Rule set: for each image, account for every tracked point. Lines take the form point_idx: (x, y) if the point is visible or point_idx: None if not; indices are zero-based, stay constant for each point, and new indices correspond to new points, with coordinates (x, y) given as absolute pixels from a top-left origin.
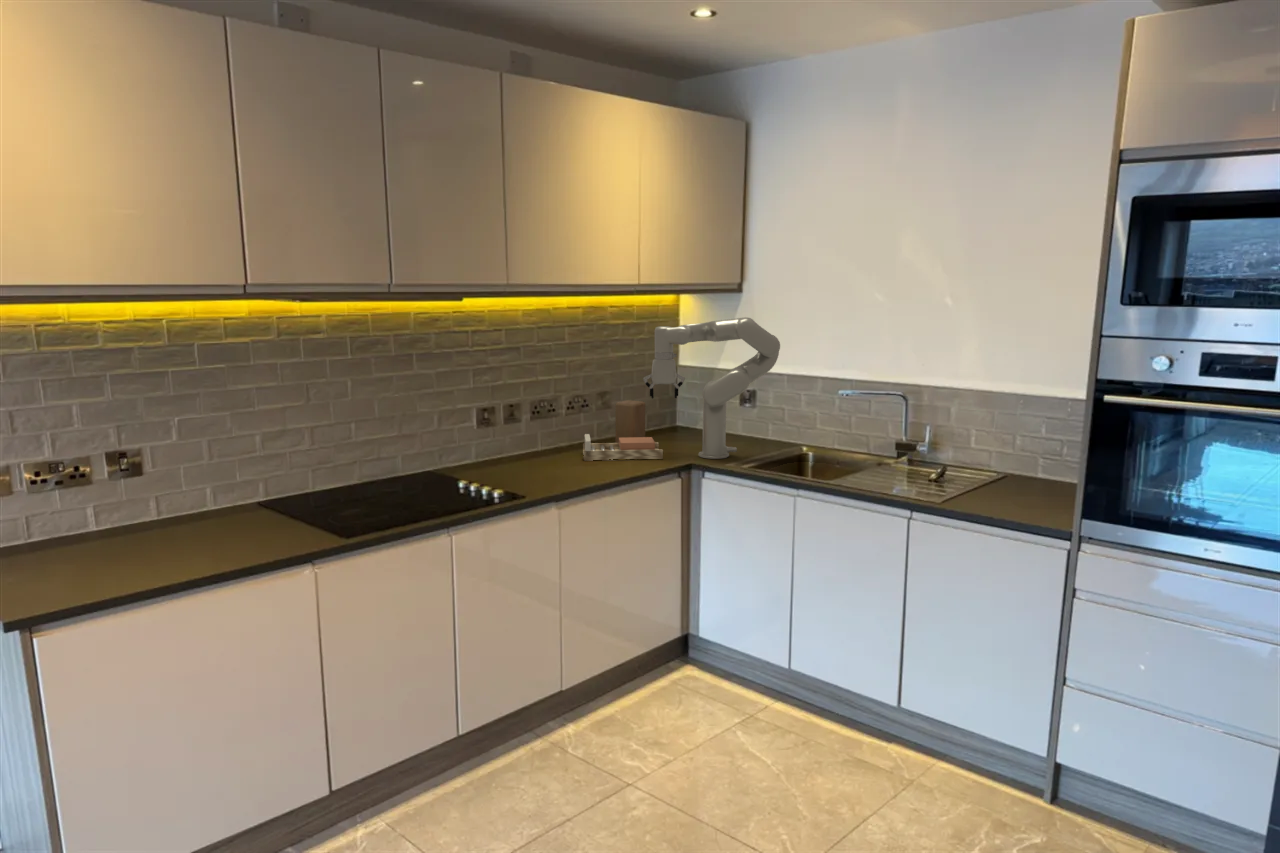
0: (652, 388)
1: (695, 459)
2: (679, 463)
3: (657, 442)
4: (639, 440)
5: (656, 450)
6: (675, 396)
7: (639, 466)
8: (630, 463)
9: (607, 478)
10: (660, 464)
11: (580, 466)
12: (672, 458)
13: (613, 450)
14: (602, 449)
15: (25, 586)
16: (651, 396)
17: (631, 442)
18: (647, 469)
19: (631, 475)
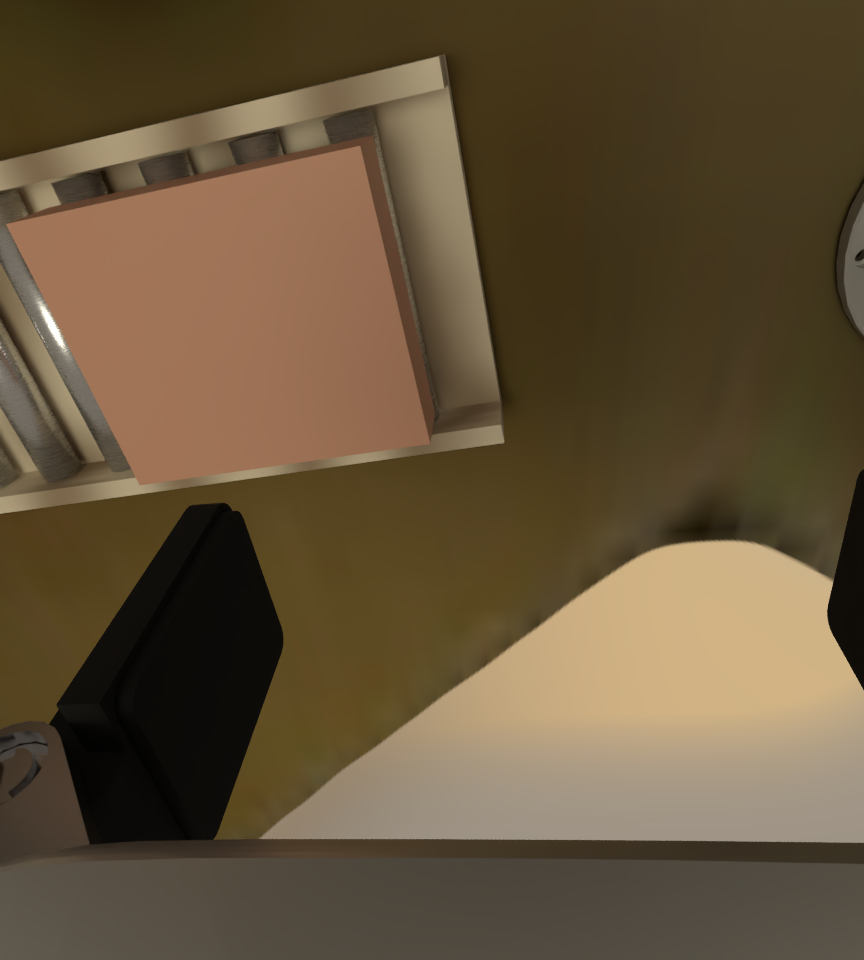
0: (158, 838)
1: (772, 377)
2: (624, 509)
3: (430, 63)
4: (267, 361)
5: (451, 447)
6: (855, 650)
7: (366, 593)
8: (294, 529)
9: (265, 783)
10: (492, 542)
11: (37, 609)
12: (582, 358)
13: (122, 492)
14: (7, 413)
15: None
16: (185, 514)
17: (220, 456)
18: (423, 649)
19: (360, 744)
